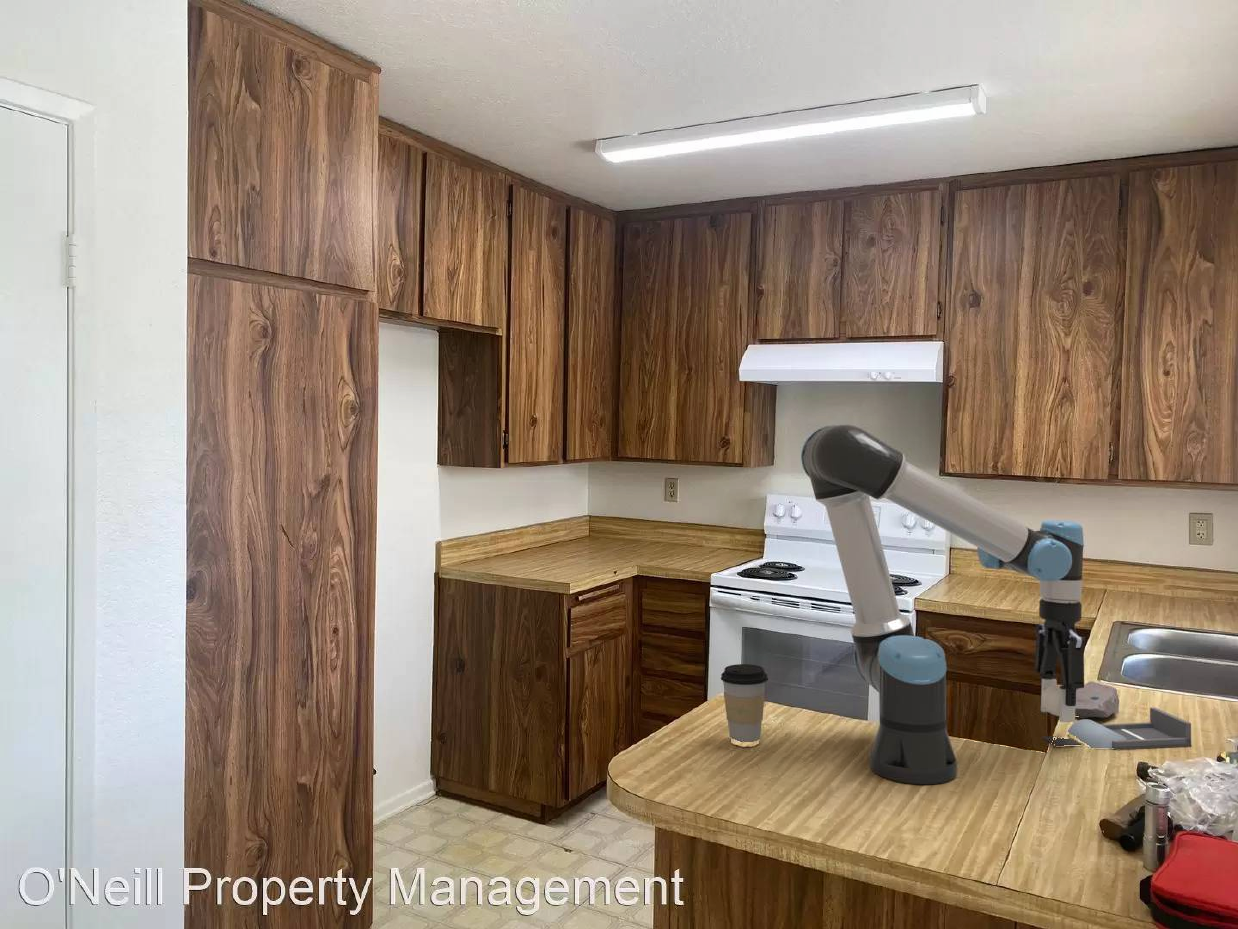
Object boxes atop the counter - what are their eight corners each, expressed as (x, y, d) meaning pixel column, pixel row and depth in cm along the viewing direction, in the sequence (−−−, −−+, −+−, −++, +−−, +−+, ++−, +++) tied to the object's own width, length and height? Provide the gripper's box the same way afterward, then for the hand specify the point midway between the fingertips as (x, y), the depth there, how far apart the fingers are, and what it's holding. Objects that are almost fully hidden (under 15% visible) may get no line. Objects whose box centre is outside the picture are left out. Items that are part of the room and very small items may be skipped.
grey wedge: (1132, 773, 176) (1131, 732, 176) (1092, 775, 175) (1092, 734, 175) (1103, 757, 185) (1103, 718, 185) (1066, 759, 184) (1065, 720, 184)
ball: (1052, 720, 176) (1052, 689, 176) (1035, 711, 182) (1036, 681, 182) (1082, 719, 176) (1082, 689, 176) (1064, 710, 182) (1064, 681, 182)
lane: (1114, 750, 175) (1114, 726, 175) (1082, 732, 185) (1082, 710, 185) (1191, 746, 176) (1191, 723, 176) (1154, 729, 186) (1154, 707, 186)
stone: (1101, 726, 190) (1101, 697, 189) (1056, 716, 197) (1056, 688, 197) (1128, 714, 198) (1128, 687, 198) (1084, 705, 205) (1084, 679, 205)
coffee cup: (719, 749, 180) (717, 673, 179) (725, 734, 189) (723, 662, 189) (767, 752, 177) (765, 675, 177) (770, 736, 187) (769, 664, 186)
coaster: (1056, 747, 177) (1056, 745, 177) (1042, 739, 182) (1042, 736, 182) (1081, 746, 177) (1081, 743, 177) (1066, 738, 182) (1066, 735, 182)
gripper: (1108, 608, 170) (1105, 731, 170) (1052, 591, 188) (1049, 702, 189) (1069, 608, 169) (1066, 731, 170) (1017, 591, 188) (1014, 703, 188)
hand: (1057, 716), depth 179 cm, fingers closed on ball, 6 cm apart
